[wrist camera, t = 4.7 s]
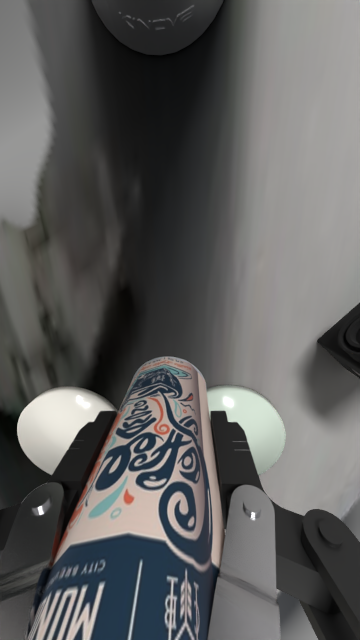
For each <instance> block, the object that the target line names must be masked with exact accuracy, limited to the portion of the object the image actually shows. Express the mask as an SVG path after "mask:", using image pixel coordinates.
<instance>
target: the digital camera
mask: <svg viewBox="0 0 360 640" xmlns="http://www.w3.org/2000/svg"><path fill="white" fill-rule="evenodd" d="M317 342H318V343H319V344H320V345H321V346H323V347H324V348H325V349H326V350H327V351H328V352H329V353H330V354H331V355H332V356H333V357H334V358H335V359H336V360H337V361H339V362H340V363H341V364H342V365H343V366H344V367H345V368H346V369H347V370H349V371H350V372H352V373H353V374H354V375H356V376H357V377H359V378H360V303H359V304H358V305H357V306H356V307H355V308H353V309H352V310H351V311H350V312H349V313H348V314H347V315H345V316H344V317H343V318H342V319H341V320H340V321H339V322H337V323H336V324H335V325H334V326H333V327H332V328H331V329H330V330H328V331H327V332H326V333H325V334H324V335H323V336H322V337H320V338H319V339H318V341H317Z"/></svg>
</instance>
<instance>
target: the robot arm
mask: <svg viewBox="0 0 360 640" xmlns="http://www.w3.org/2000/svg"><path fill="white" fill-rule="evenodd" d="M91 1H92V3H93V5H94V8H95V10H96V12H97V14H98V16H99V17H100V19H101V20H102V22H103V23H104V25H105V26H106V28H107V29H108V30H109V31H110V32H111V33H112V34H113V35H114V36H115V37H116V38H117V39H118V40H119V41H120V42H121V43H123V44H124V45H126V46H128V47H129V48H131V49H132V50H135V51H138V52H141V53H144V54H147V55H165V54H170V53H174V52H177V51H179V50H181V49H183V48H185V47H187V46H189V45H190V44H191V43H193V42H194V41H195V40H196V39H197V38H198V37H200V36H201V35H202V34H203V33H204V31H205V30H206V29H207V28H208V26H209V25H210V24H211V22H212V21H213V20H214V18H215V16H216V14H217V12H218V10H219V9H220V7H221V5H222V3H223V0H91ZM116 416H117V412H116V411H100V412H99V414H98V415H97V417H96V419H95V421H94V422H88V423H87V424H86V425H85V426H84V427H82V428H81V429H80V430H79V432H78V433H77V435H76V437H75V438H74V441H73V442H72V443H71V445H70V446H69V449H68V450H67V451H66V453H65V455H64V456H63V458H62V459H61V461H60V463H59V464H58V466H57V467H56V469H55V471H54V472H53V474H52V476H51V477H50V479H49V480H48V482H47V483H46V484H43V485H41V486H39V487H38V488H36V489H35V490H33V491H32V492H31V493H30V494H29V495H28V496H27V497H26V498H25V499H24V500H23V502H22V503H20V504H17V505H14V506H11V507H8V508H4V509H1V510H0V640H27V638H28V635H29V632H30V630H31V627H32V624H33V621H34V618H35V615H36V612H37V609H38V606H39V603H40V600H41V597H42V594H43V591H44V588H45V585H46V582H47V579H48V576H49V573H50V570H51V567H52V564H53V561H54V558H55V556H56V553H57V550H58V547H59V544H60V542H61V539H62V537H63V535H64V533H65V530H66V528H67V526H68V524H69V521H70V519H71V517H72V515H73V512H74V510H75V508H76V506H77V503H78V501H79V499H80V497H81V494H82V492H83V490H84V488H85V485H86V483H87V481H88V479H89V476H90V474H91V472H92V470H93V467H94V465H95V463H96V461H97V458H98V456H99V454H100V452H101V449H102V447H103V445H104V443H105V440H106V438H107V436H108V434H109V431H110V429H111V427H112V425H113V422H114V420H115V418H116ZM210 423H211V431H212V438H213V446H214V454H215V462H216V470H217V477H218V485H219V493H220V501H221V509H222V516H223V524H224V529H226V535H225V541H224V548H223V554H222V561H221V567H220V572H219V574H218V578H217V583H216V588H215V595H214V601H213V607H212V614H211V620H210V626H209V633H208V639H207V640H280V616H279V605H278V602H277V594H276V588H277V589H279V590H281V591H283V592H285V593H287V594H289V595H291V596H293V597H295V598H297V599H299V601H300V603H301V605H302V607H303V609H304V611H305V613H306V615H307V617H308V619H309V621H310V623H311V625H312V628H313V630H314V632H315V634H316V636H317V638H318V640H360V542H359V541H358V539H357V538H356V537H355V536H354V534H353V533H352V532H351V531H350V530H349V528H348V527H347V526H346V525H345V524H344V523H343V522H342V521H341V520H340V519H339V518H337V517H336V516H334V515H333V514H331V513H329V512H327V511H324V510H320V509H313V510H310V511H308V512H307V513H306V514H305V516H302V515H299V514H297V513H294V512H291V511H288V510H286V509H284V508H281V507H280V506H278V505H277V504H275V503H274V502H273V501H272V500H271V499H270V498H269V497H268V496H267V495H266V493H265V492H264V490H263V488H262V485H261V482H260V479H259V476H258V473H257V470H256V467H255V463H254V460H253V457H252V454H251V451H250V447H249V444H248V442H247V438H246V435H245V431H244V430H243V428H242V427H241V426H240V425H239V424H238V422H228V419H227V415H226V411H211V412H210Z"/></svg>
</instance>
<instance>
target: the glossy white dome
mask: <svg viewBox="0 0 360 640" xmlns="http://www.w3.org/2000/svg"><path fill="white" fill-rule="evenodd" d="M100 411H116V412H117V413H118V410H117V409H116V408H115V407H114V405H113V404H111V403H110V402H109V401H108V400H107V399H105V398H104V397H102V396H101V395H99V394H97V393H95V392H93V391H90V390H87V389H84V388H79V387H70V386H65V387H57V388H53V389H50V390H47V391H45V392H43V393H42V394H40V395H39V396H37V397H36V398H35V399H34V400H33V401H32V402H31V403H30V404H29V405H28V406H27V407H26V408H25V409H24V410H23V412H22V413H21V415H20V417H19V420H18V425H17V435H18V439H19V442H20V445H21V447H22V449H23V451H24V452H25V454H26V455H27V456H28V458H29V459H30V460H31V461H32V462H33V463H34V464H35V465H36V466H38V467H39V468H41V469H42V470H44V471H45V472H47V473H49V474H51V475H52V474H53V472H54V471H55V469H56V467H57V466H58V464H59V463H60V461H61V459H62V458H63V456H64V455H65V453H66V451H67V450H68V449H69V446H70V445H71V443H72V442H73V441H74V438H75V437H76V435H77V433H78V432H79V430H80V429H81V428H82V427H84V426H85V425H86V424H87V423H88V422H94V421H95V419H96V417H97V415H98V414H99V412H100Z"/></svg>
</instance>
